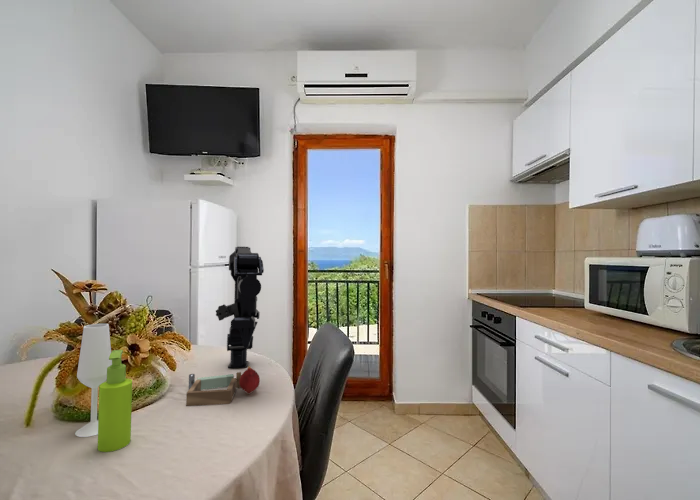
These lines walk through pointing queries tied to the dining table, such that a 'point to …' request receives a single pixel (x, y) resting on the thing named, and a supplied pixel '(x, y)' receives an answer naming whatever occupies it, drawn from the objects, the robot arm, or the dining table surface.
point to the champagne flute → (93, 368)
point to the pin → (191, 380)
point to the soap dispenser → (115, 407)
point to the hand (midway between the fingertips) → (245, 347)
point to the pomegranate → (249, 380)
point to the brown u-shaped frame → (212, 393)
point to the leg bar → (215, 381)
